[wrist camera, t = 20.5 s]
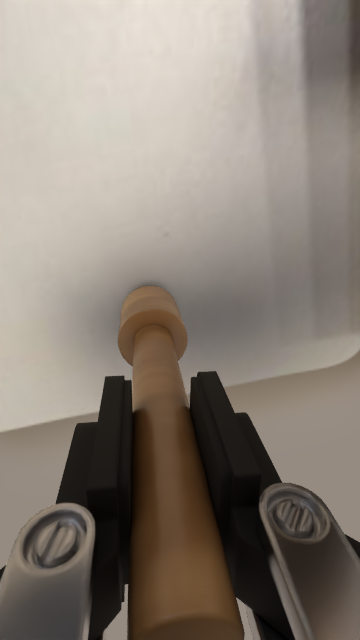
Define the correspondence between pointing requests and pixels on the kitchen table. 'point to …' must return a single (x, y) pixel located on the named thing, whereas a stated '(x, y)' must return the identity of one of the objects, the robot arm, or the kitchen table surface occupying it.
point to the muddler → (170, 490)
